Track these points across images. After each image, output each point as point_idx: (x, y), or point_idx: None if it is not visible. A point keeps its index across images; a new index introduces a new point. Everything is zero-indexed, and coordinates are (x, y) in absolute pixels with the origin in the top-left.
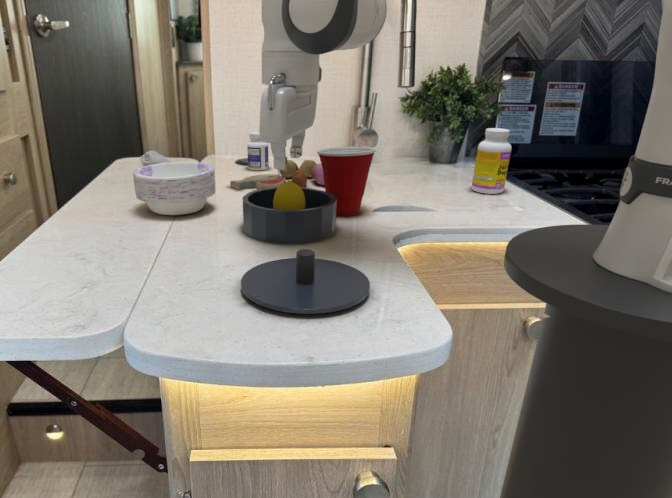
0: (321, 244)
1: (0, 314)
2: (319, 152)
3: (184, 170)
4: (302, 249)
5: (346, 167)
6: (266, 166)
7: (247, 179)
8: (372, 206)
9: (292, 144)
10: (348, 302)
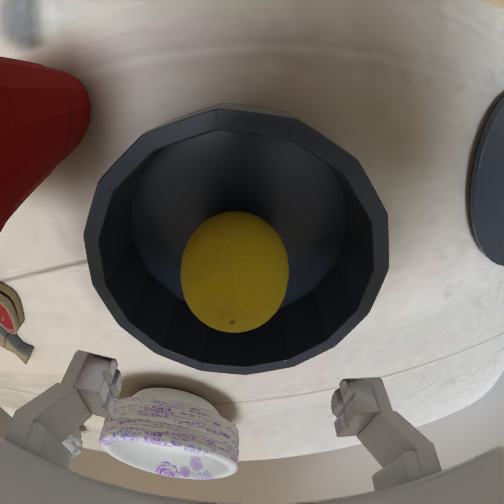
0: (355, 136)
1: (474, 391)
2: None
3: (120, 444)
4: None
5: (6, 122)
6: None
7: (4, 344)
8: None
9: (83, 418)
10: None
